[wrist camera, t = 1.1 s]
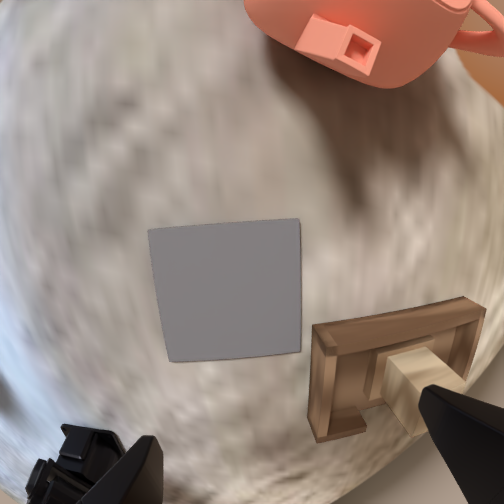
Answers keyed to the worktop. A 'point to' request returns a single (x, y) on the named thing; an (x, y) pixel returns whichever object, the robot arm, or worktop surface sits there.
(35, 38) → the worktop surface
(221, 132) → the worktop surface
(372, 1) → the teapot
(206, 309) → the rubber mat
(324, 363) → the box
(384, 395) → the maple block
